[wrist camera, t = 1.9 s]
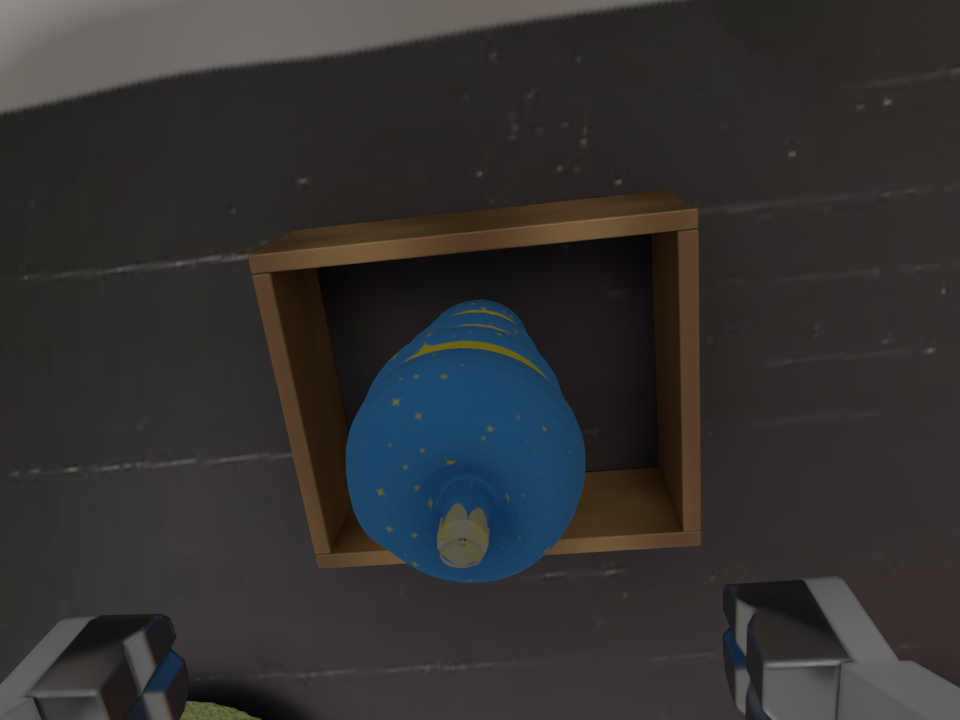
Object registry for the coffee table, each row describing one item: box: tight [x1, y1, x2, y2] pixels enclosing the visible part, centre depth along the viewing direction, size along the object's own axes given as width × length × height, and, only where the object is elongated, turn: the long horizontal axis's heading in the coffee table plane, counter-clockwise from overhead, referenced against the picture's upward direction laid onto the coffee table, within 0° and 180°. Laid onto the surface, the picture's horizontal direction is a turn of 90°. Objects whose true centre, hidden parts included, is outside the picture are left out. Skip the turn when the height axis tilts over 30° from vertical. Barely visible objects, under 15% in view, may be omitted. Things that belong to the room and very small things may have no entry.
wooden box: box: [248, 190, 701, 569], centre depth 24 cm, size 13×11×4 cm
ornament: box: [345, 300, 585, 583], centre depth 19 cm, size 5×5×15 cm
